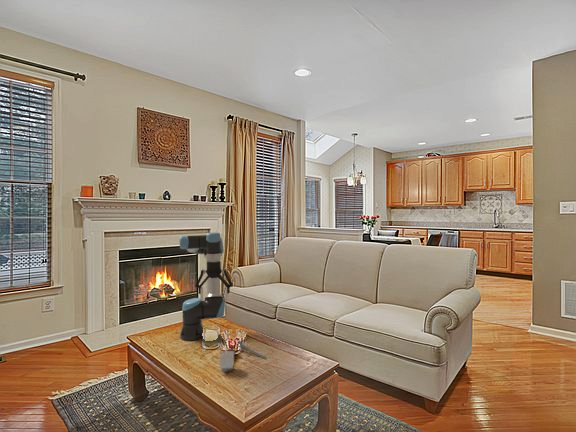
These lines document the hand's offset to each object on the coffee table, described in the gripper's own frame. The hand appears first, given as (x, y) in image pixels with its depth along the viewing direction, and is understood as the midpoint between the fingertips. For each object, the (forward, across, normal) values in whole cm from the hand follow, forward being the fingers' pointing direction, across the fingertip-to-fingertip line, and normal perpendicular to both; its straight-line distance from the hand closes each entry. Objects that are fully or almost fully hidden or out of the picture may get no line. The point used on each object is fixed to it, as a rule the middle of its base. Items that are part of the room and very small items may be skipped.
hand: (214, 299), depth 188 cm
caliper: (+32, +20, +1) cm, 38 cm away
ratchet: (+32, +9, -8) cm, 34 cm away
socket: (+29, +9, -16) cm, 35 cm away
